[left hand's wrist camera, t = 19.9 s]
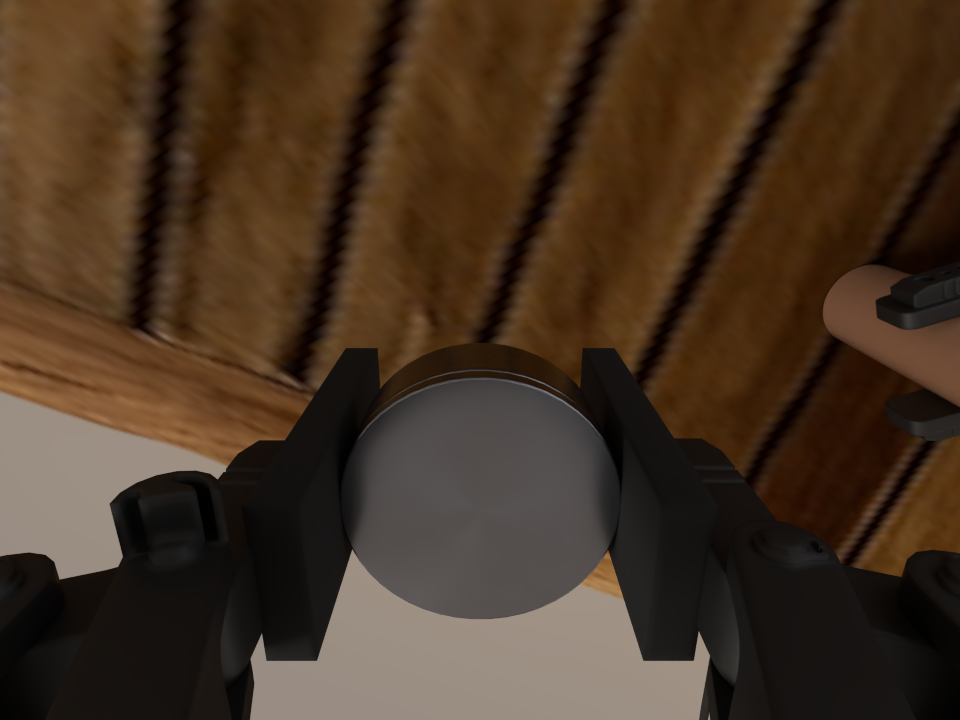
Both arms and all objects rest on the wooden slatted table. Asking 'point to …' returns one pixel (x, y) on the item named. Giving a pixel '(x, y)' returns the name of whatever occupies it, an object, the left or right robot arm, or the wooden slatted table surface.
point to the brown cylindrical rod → (893, 332)
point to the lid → (480, 483)
